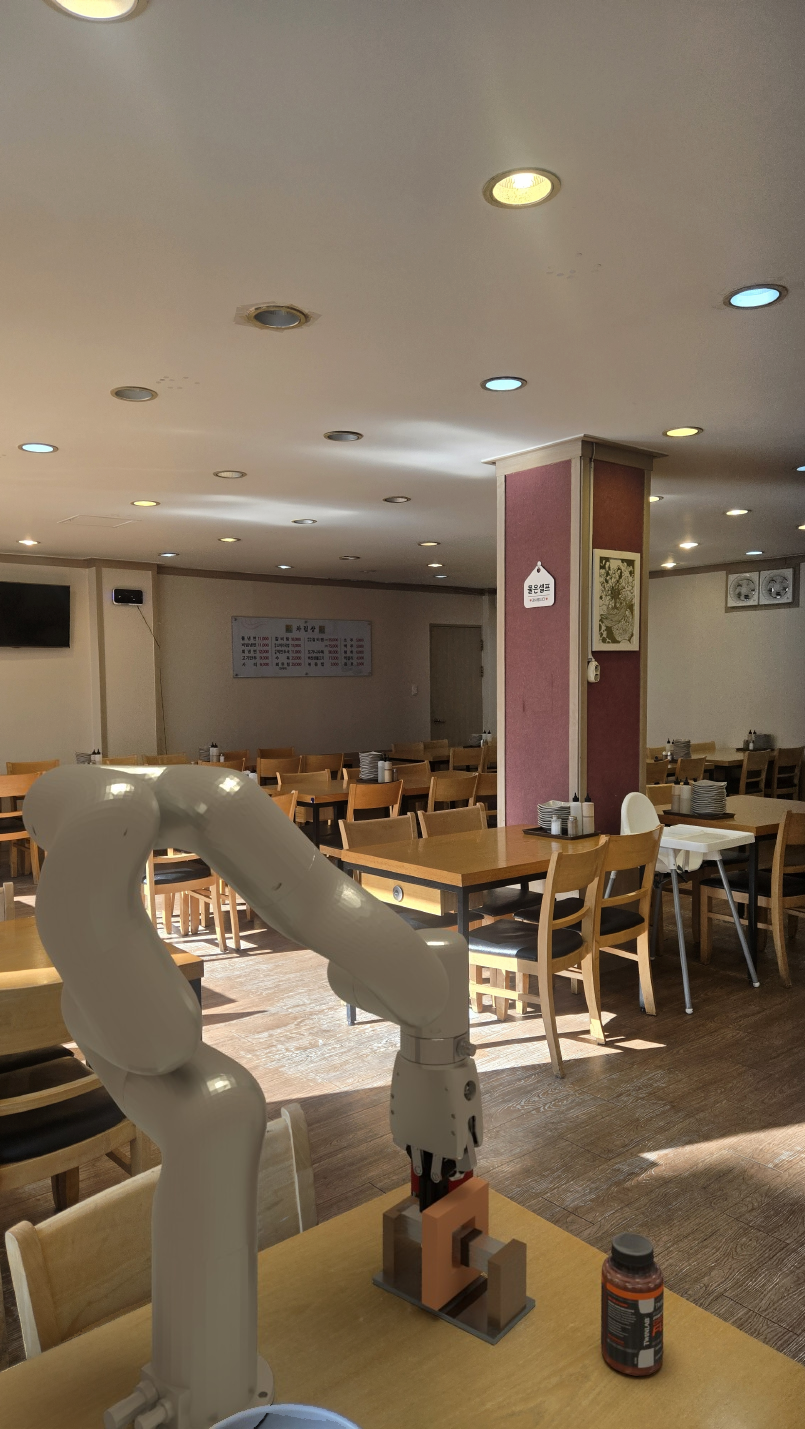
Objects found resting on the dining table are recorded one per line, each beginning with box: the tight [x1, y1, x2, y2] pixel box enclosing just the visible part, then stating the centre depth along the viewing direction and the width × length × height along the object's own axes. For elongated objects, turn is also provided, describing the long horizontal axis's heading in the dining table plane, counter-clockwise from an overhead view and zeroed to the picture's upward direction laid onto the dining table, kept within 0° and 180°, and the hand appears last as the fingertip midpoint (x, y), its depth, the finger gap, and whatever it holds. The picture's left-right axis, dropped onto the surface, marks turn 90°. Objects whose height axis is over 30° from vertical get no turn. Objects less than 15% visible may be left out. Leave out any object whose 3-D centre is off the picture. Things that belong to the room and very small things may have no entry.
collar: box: [421, 1176, 490, 1311], centre depth 101 cm, size 2×10×10 cm, turn 141°
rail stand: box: [371, 1194, 536, 1346], centre depth 101 cm, size 16×8×7 cm, turn 51°
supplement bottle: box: [600, 1232, 665, 1377], centre depth 91 cm, size 6×6×11 cm
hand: (433, 1209), depth 103 cm, fingers closed
